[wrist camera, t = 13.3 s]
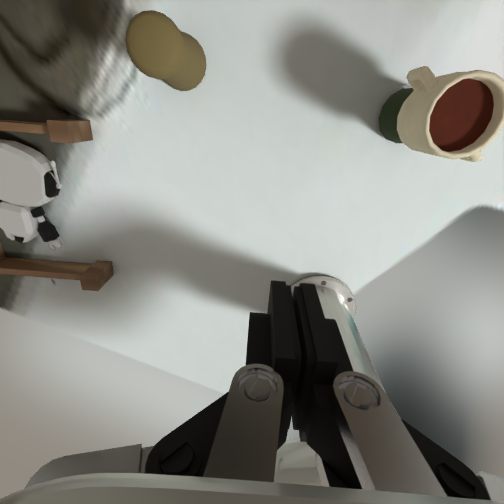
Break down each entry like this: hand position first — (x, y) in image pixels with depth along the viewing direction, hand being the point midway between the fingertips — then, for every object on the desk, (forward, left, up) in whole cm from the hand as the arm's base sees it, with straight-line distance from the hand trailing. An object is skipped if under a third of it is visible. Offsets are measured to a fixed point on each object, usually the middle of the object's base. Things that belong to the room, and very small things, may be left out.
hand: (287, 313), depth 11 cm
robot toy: (-6, +35, -32) cm, 48 cm away
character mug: (+8, -16, -32) cm, 37 cm away
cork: (+12, +12, -32) cm, 36 cm away
